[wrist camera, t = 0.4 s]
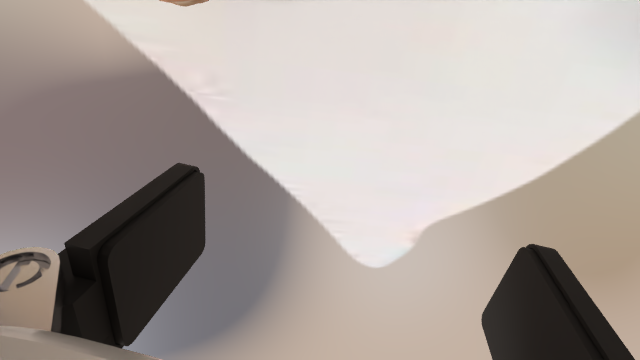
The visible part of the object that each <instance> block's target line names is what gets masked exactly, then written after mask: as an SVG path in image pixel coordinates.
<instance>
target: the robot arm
mask: <svg viewBox="0 0 640 360" xmlns="http://www.w3.org/2000/svg"><path fill="white" fill-rule="evenodd" d="M204 184H205V183H204V174H203V173H200V170H199V168H198V167H195V166H191V165H186V164H182V163H177V164H176V165H174V166H173V167H171V168H170V169H168V170H167V171H165V172H164V173H163V174H161V175H160V176H158V177H157V178H156V179H154V180H153V181H151V182H150V183H148V184H147V185H146V186H144V187H143V188H142V189H140V190H139V191H137V192H136V193H134V194H133V195H132V196H130V197H129V198H127V199H126V200H124V201H123V202H122V203H120V204H119V205H117V206H116V207H115V208H113V209H112V210H110V211H109V212H108V213H106V214H105V215H103V216H102V217H100V218H99V219H98V220H96V221H95V222H94V223H92V224H91V225H89V226H88V227H87V228H85V229H84V230H82V231H81V232H79V233H78V234H76V235H75V236H74V237H72V238H71V239H69V240H68V241H67V242H65V247H66V248H65V249H64V250H63V251H61V252H60V253H59V254H57V253H56V252H55V251H53V250H50V249H47V248H39V247H31V248H22V249H17V250H13V251H9V252H6V253H3V254H1V255H0V360H162V359H158V358H155V357H152V356H148V355H144V354H140V353H137V352H133V351H129V350H125V349H122V347H123V346H129V345H130V344H132V342H133V341H134V340H135V339H136V338H137V336H138V335H139V333H140V332H141V331H142V330H143V329H144V327H145V326H146V325H147V323H148V322H149V321H150V320H151V318H152V317H153V316H154V314H155V313H156V312H157V311H158V309H159V308H160V307H161V305H162V304H163V303H164V302H165V300H166V299H167V298H168V296H169V295H170V294H171V293H172V291H173V290H174V288H175V287H176V286H177V285H178V284H179V282H180V281H181V280H182V278H183V277H184V276H185V274H186V273H187V272H188V271H189V269H190V268H191V267H192V265H193V264H194V263H195V261H196V260H197V259H198V258H199V256H200V255H201V254H202V252H203V250H204V247H205V185H204ZM482 327H483V330H484V333H485V336H486V340H487V343H488V346H489V349H490V352H491V356H492V359H493V360H635V359H634V358H633V356H632V355H631V353H630V352H629V351H628V349H627V348H626V346H625V345H624V344H623V342H622V341H621V339H620V338H619V337H618V335H617V334H616V333H615V331H614V330H613V328H612V327H611V326H610V324H609V323H608V321H607V320H606V319H605V317H604V316H603V314H602V313H601V312H600V310H599V309H598V307H597V306H596V305H595V304H594V302H593V301H592V299H591V298H590V297H589V295H588V294H587V292H586V291H585V289H584V288H583V287H582V285H581V284H580V282H579V281H578V280H577V278H576V277H575V275H574V274H573V273H572V271H571V270H570V269H569V267H568V266H567V264H566V263H565V262H564V260H563V259H562V257H561V256H560V255H559V253H558V252H557V251H556V250H555V249H552V248H547V247H543V246H539V245H535V244H529V245H528V246H527V247H526V248H525V247H522V248H520V249H519V251H518V252H517V254H516V256H515V257H514V259H513V261H512V263H511V264H510V266H509V268H508V270H507V271H506V273H505V275H504V277H503V278H502V280H501V282H500V284H499V285H498V287H497V289H496V291H495V292H494V294H493V296H492V298H491V299H490V301H489V303H488V305H487V307H486V308H485V310H484V312H483V314H482Z"/></svg>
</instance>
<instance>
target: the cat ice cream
mask: <svg viewBox="0 0 640 360" xmlns="http://www.w3.org/2000/svg"><path fill="white" fill-rule="evenodd" d="M160 1H164V2H171V3H173V4H176V5H179V6H190V5H194V4H197V3H203V2H206V1H209V0H160Z"/></svg>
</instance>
